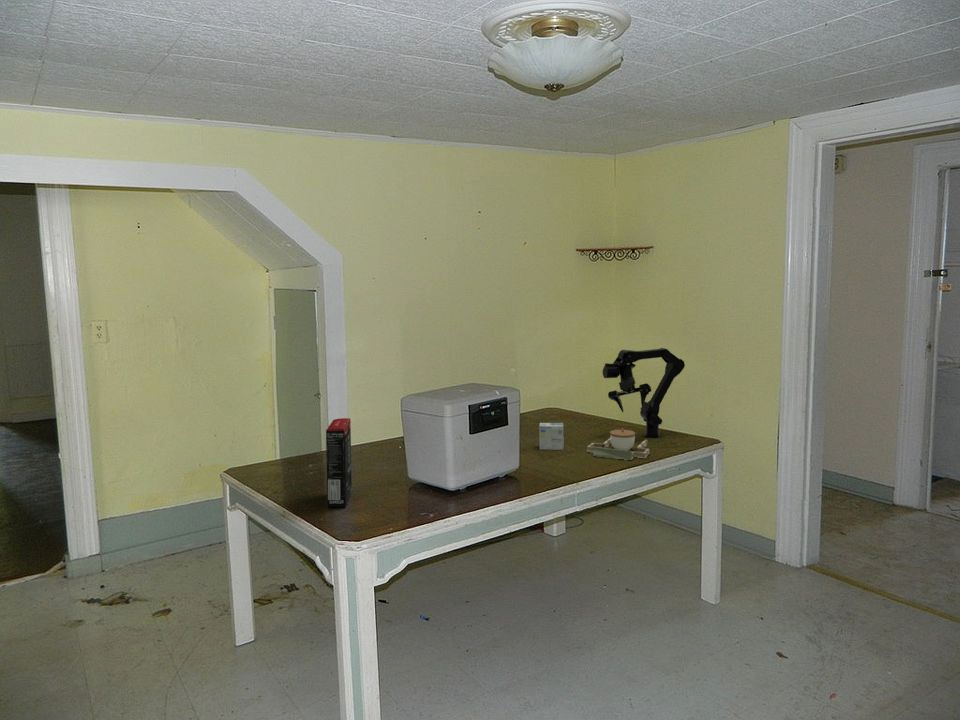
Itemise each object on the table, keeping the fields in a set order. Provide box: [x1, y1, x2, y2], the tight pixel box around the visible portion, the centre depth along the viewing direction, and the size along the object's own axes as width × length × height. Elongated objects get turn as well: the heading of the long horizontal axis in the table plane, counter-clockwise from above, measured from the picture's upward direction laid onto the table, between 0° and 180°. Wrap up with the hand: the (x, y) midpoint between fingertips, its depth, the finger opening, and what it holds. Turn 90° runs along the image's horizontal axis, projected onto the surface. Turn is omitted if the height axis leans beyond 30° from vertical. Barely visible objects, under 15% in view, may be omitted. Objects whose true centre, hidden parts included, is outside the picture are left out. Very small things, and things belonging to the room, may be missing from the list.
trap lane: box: [586, 437, 651, 461], centre depth 306 cm, size 28×25×4 cm
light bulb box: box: [538, 422, 565, 451], centre depth 311 cm, size 11×7×11 cm, turn 84°
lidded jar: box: [609, 427, 636, 451], centre depth 307 cm, size 11×11×9 cm
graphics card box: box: [325, 417, 353, 508], centre depth 243 cm, size 17×7×27 cm, turn 4°
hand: (632, 409), depth 318 cm, fingers open, 9 cm apart
